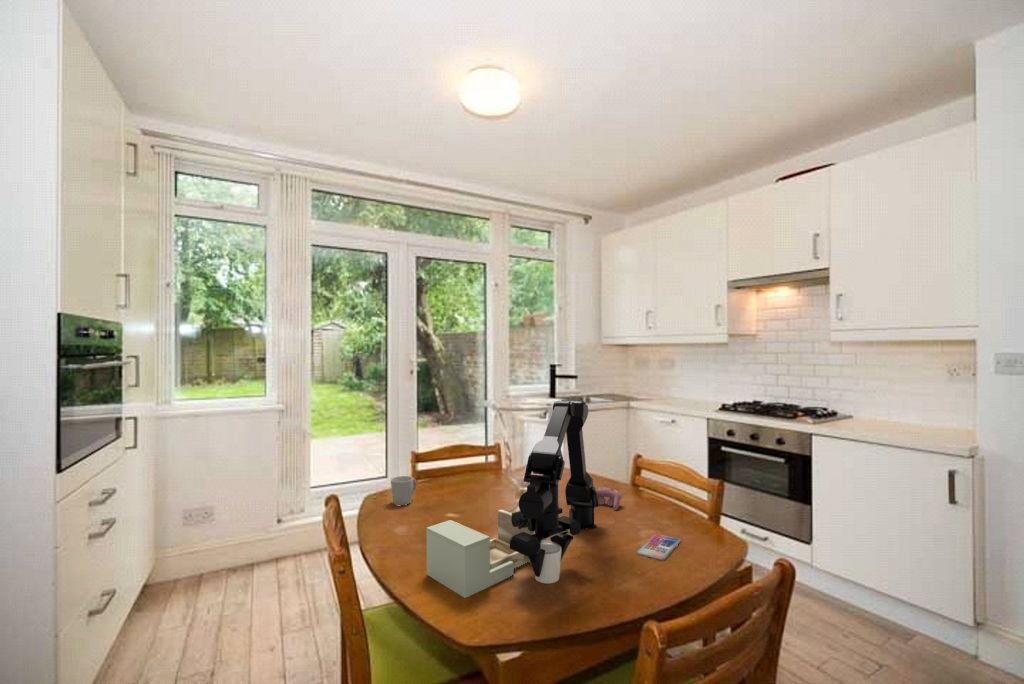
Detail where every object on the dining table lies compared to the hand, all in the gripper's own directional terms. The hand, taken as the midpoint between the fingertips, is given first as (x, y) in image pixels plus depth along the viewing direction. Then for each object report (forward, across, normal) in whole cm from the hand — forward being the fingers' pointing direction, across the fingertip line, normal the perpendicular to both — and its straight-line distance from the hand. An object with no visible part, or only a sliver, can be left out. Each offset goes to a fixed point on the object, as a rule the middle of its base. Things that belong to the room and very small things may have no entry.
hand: (546, 571), depth 107 cm
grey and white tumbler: (+2, 0, 0) cm, 2 cm away
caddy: (+1, +12, -14) cm, 18 cm away
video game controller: (+2, -50, -19) cm, 53 cm away
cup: (+2, -4, -70) cm, 70 cm away
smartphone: (+2, -33, +10) cm, 35 cm away
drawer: (+1, +3, -13) cm, 14 cm away
